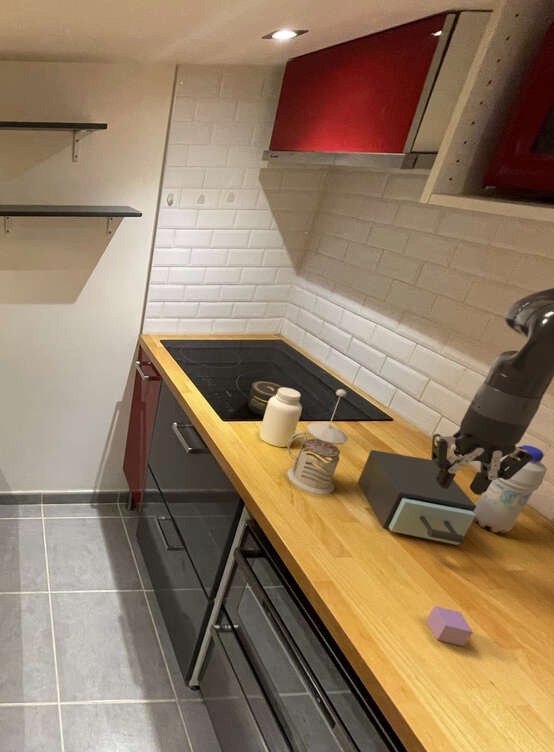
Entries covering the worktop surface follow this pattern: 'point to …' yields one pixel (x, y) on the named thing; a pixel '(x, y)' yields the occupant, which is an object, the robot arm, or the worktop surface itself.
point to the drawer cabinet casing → (405, 484)
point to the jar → (261, 396)
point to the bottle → (510, 495)
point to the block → (449, 626)
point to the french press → (307, 472)
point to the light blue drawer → (431, 520)
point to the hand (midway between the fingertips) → (458, 488)
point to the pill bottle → (281, 417)
